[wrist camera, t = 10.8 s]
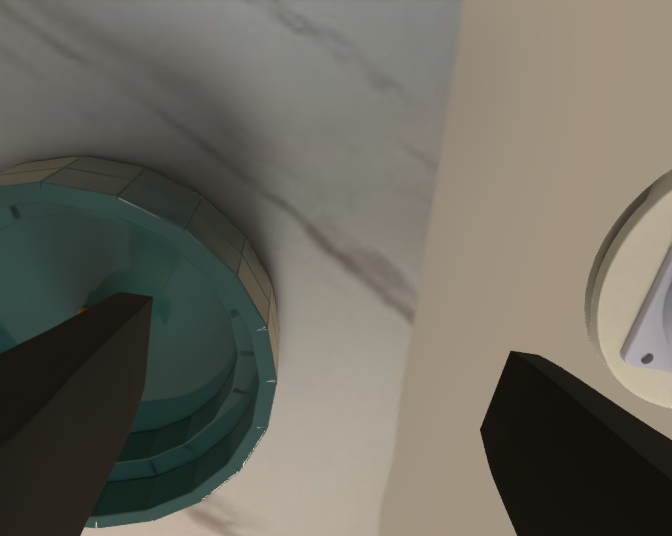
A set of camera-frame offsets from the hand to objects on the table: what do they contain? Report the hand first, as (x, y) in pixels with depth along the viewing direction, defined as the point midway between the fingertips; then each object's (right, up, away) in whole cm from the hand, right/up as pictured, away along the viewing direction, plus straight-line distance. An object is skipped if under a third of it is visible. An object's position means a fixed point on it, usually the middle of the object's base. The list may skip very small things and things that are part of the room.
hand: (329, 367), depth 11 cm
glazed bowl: (-9, 0, +11) cm, 14 cm away
